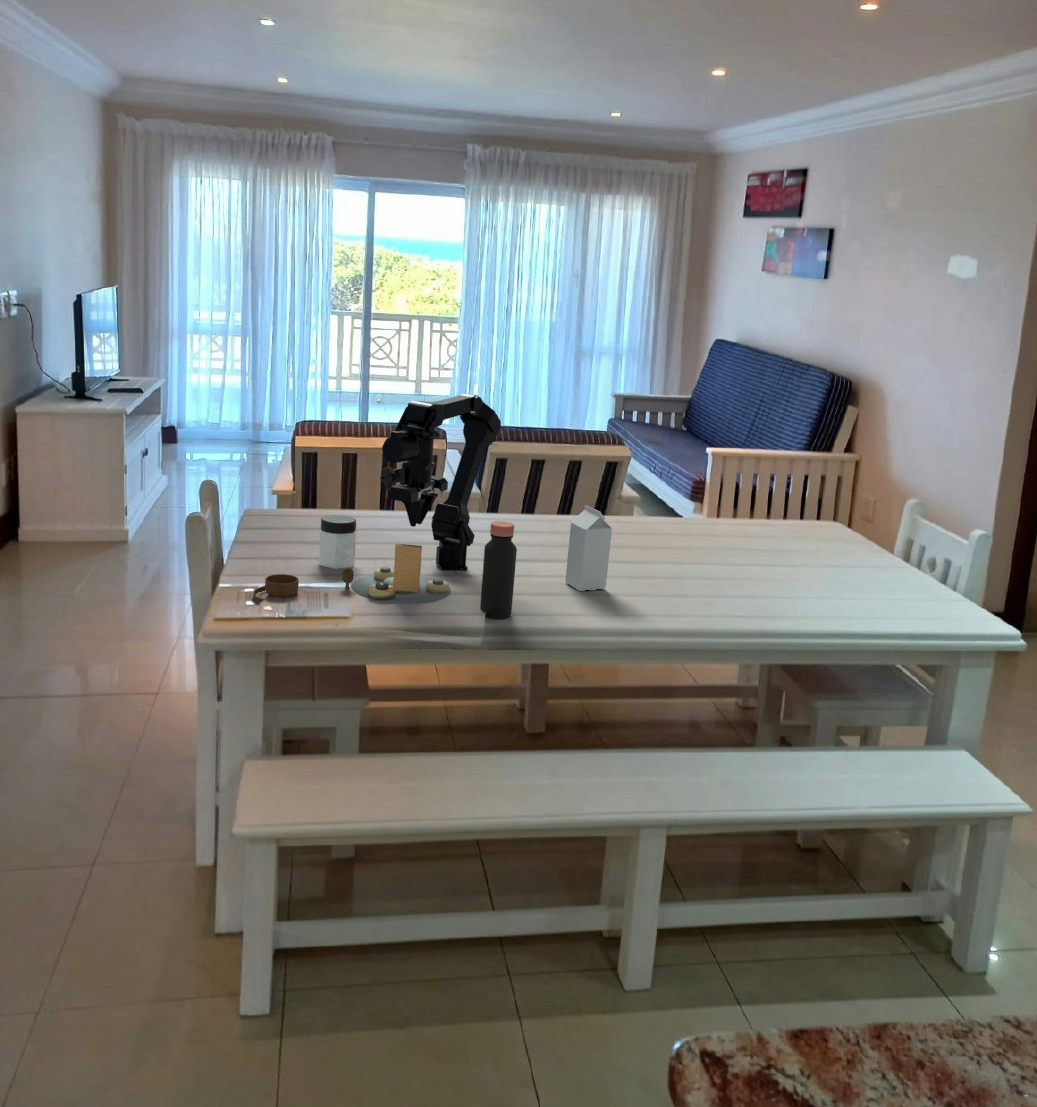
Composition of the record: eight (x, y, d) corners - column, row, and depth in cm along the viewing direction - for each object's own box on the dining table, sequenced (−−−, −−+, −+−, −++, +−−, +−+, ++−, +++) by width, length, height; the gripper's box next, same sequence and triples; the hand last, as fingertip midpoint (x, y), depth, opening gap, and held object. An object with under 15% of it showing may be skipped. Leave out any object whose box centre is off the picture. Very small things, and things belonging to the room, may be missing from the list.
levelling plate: (436, 577, 255) (437, 563, 254) (462, 607, 235) (463, 592, 234) (343, 579, 248) (343, 565, 247) (361, 610, 228) (361, 594, 227)
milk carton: (579, 592, 253) (587, 512, 248) (564, 583, 259) (572, 505, 254) (605, 590, 256) (614, 511, 251) (590, 581, 262) (598, 504, 257)
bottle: (489, 621, 228) (497, 528, 222) (473, 611, 233) (480, 520, 228) (517, 617, 231) (524, 526, 226) (500, 608, 237) (508, 519, 231)
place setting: (265, 585, 240) (265, 560, 239) (355, 594, 240) (356, 568, 238) (242, 610, 223) (242, 583, 222) (338, 619, 223) (339, 592, 221)
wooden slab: (365, 598, 231) (367, 545, 228) (370, 589, 237) (372, 538, 234) (416, 602, 231) (419, 550, 228) (420, 594, 236) (423, 543, 233)
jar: (326, 574, 250) (328, 524, 247) (312, 565, 256) (313, 515, 253) (361, 571, 255) (363, 521, 252) (347, 562, 261) (349, 513, 258)
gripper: (408, 447, 256) (405, 512, 260) (367, 458, 239) (364, 526, 243) (450, 454, 252) (446, 520, 256) (411, 465, 235) (407, 535, 239)
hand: (415, 525), depth 248 cm, fingers open, 3 cm apart
